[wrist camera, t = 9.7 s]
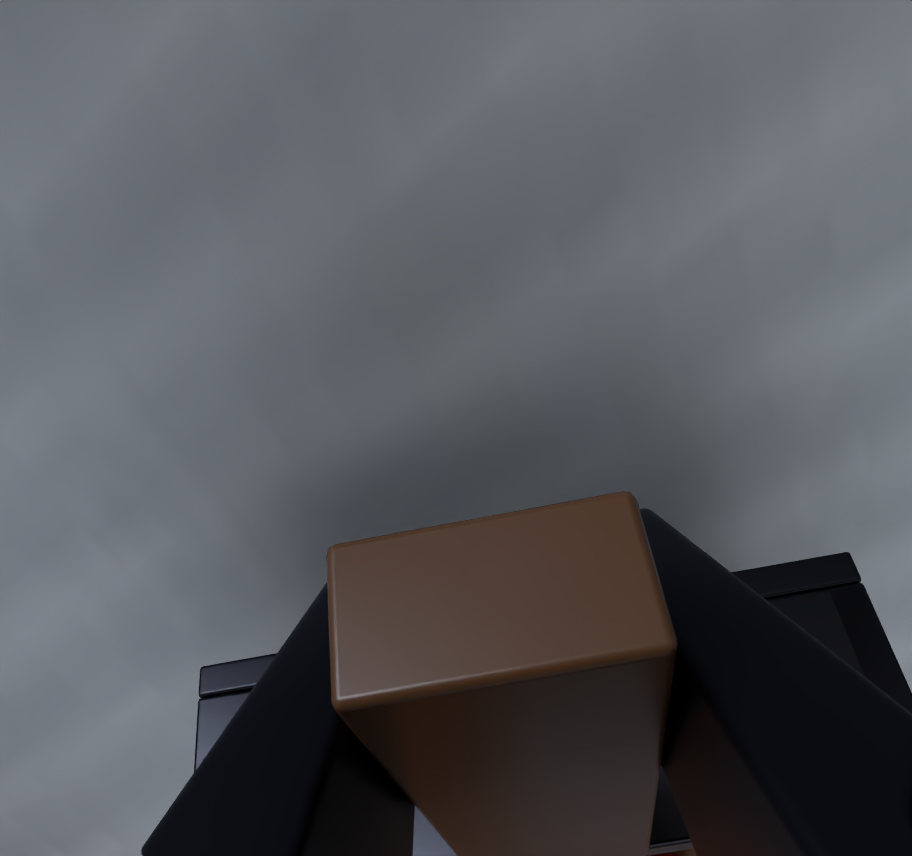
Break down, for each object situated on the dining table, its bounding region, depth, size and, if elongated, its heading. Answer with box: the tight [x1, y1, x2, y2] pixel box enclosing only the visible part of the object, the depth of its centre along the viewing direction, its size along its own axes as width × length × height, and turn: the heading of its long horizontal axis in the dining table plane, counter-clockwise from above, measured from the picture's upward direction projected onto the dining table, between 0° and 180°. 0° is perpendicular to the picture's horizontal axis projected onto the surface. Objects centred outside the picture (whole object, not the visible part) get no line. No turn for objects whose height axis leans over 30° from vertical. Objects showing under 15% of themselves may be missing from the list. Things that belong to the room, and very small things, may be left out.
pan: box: [194, 491, 912, 856], centre depth 14 cm, size 18×10×4 cm, turn 10°
